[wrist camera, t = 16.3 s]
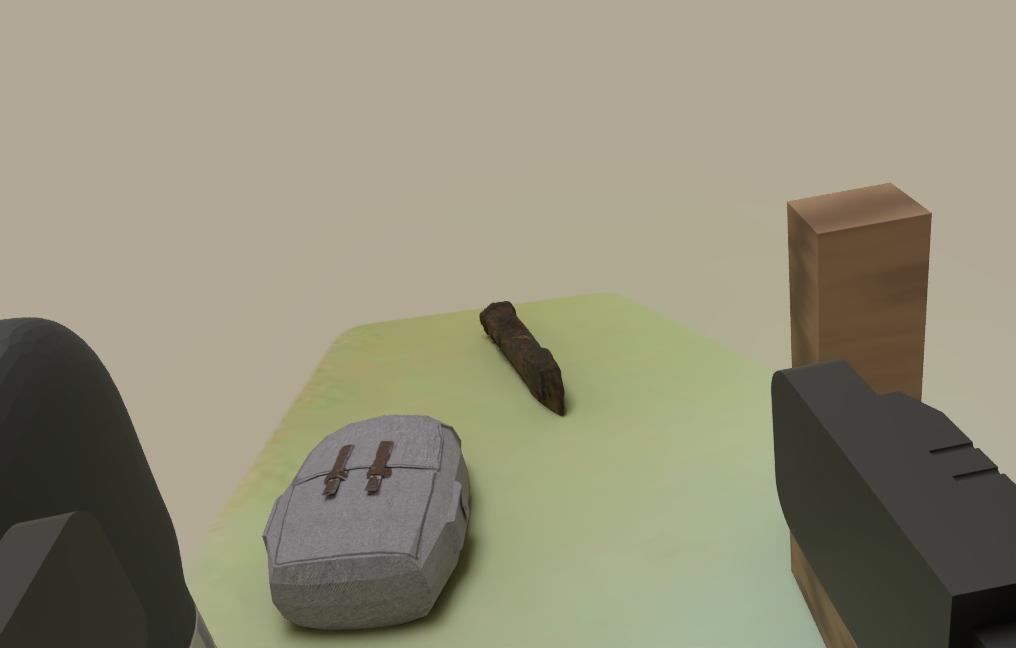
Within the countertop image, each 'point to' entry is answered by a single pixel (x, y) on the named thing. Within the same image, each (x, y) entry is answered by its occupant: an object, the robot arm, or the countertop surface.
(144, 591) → the robot arm
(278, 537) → the small grey backpack
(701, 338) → the countertop surface
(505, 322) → the hand tool
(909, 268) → the wooden peg socket stand
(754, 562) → the countertop surface
